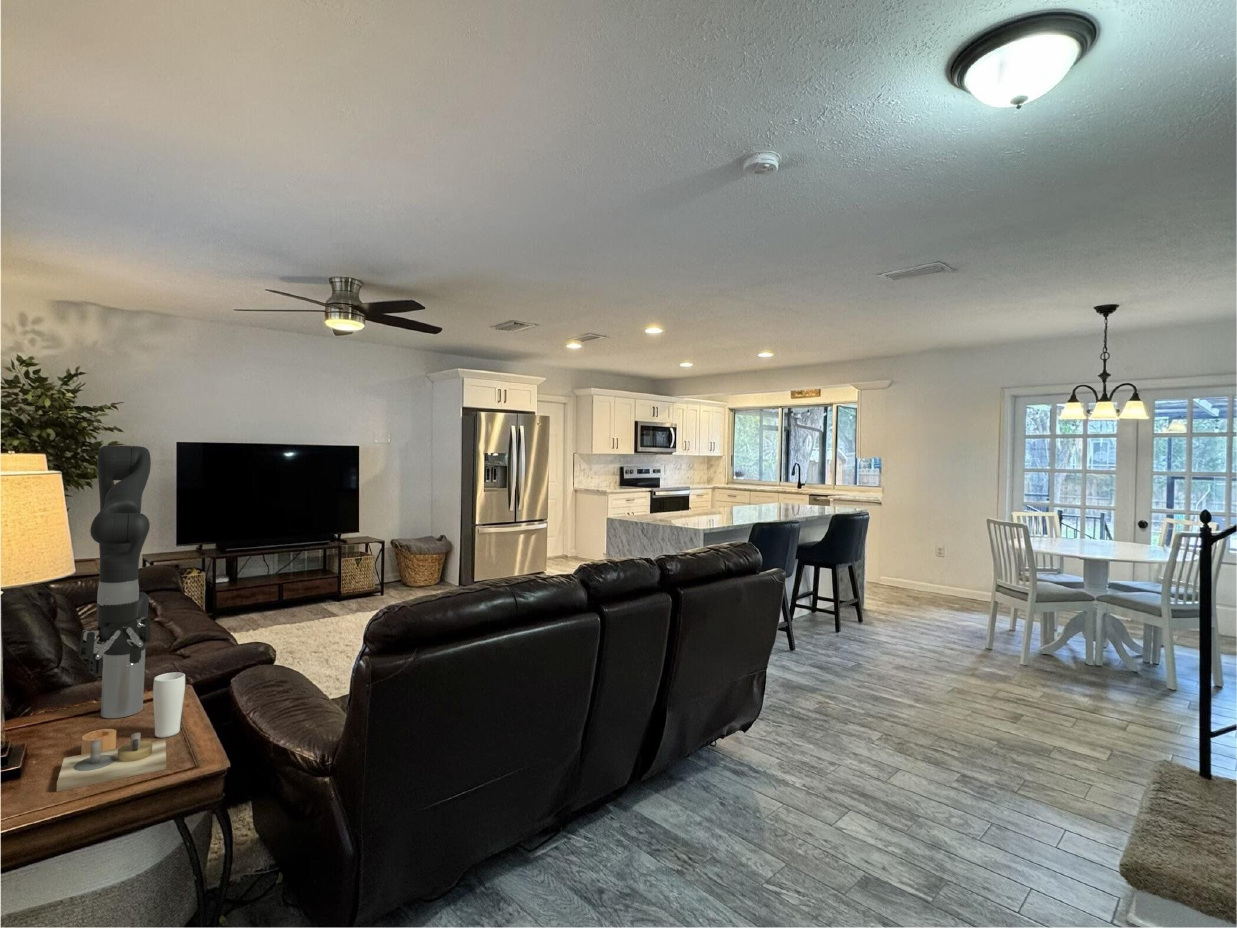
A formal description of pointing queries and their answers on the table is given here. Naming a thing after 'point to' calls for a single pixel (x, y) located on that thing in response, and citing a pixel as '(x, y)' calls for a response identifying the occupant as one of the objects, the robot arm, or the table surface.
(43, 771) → the table surface
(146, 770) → the gear board
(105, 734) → the gear
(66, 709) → the table surface
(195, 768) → the table surface
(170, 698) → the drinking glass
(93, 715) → the table surface
